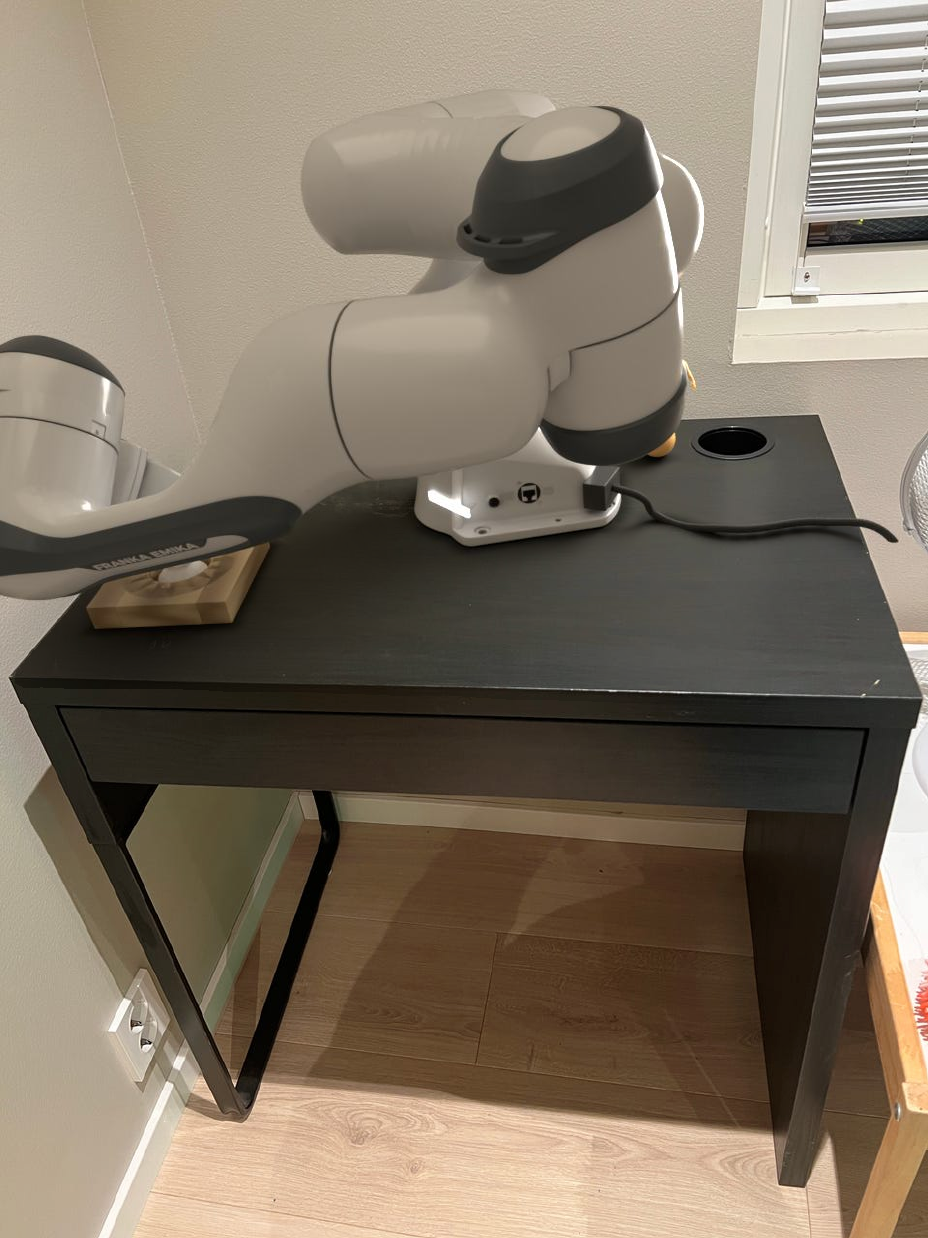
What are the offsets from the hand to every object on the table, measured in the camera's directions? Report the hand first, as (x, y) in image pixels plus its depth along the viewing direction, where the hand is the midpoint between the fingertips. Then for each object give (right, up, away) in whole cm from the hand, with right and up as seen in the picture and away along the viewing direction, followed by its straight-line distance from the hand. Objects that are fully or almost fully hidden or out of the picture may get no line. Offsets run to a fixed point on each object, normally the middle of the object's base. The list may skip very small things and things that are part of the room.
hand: (167, 514), depth 90 cm
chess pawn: (+1, -7, +4) cm, 8 cm away
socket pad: (+1, -7, +4) cm, 8 cm away
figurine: (+51, +9, +17) cm, 55 cm away
